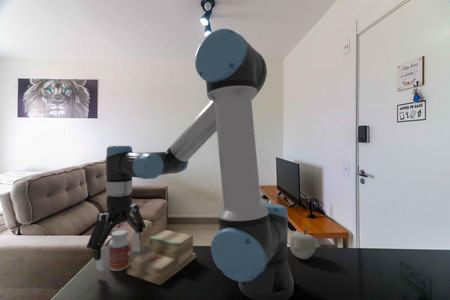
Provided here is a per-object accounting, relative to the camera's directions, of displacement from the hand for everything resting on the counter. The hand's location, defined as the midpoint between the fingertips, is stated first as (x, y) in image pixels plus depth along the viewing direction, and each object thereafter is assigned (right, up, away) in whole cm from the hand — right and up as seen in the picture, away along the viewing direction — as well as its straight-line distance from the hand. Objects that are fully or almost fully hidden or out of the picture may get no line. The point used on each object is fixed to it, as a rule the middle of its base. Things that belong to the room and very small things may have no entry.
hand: (119, 259), depth 76 cm
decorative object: (+61, -3, +7) cm, 62 cm away
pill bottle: (0, -3, 0) cm, 3 cm away
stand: (+14, -2, +1) cm, 14 cm away
